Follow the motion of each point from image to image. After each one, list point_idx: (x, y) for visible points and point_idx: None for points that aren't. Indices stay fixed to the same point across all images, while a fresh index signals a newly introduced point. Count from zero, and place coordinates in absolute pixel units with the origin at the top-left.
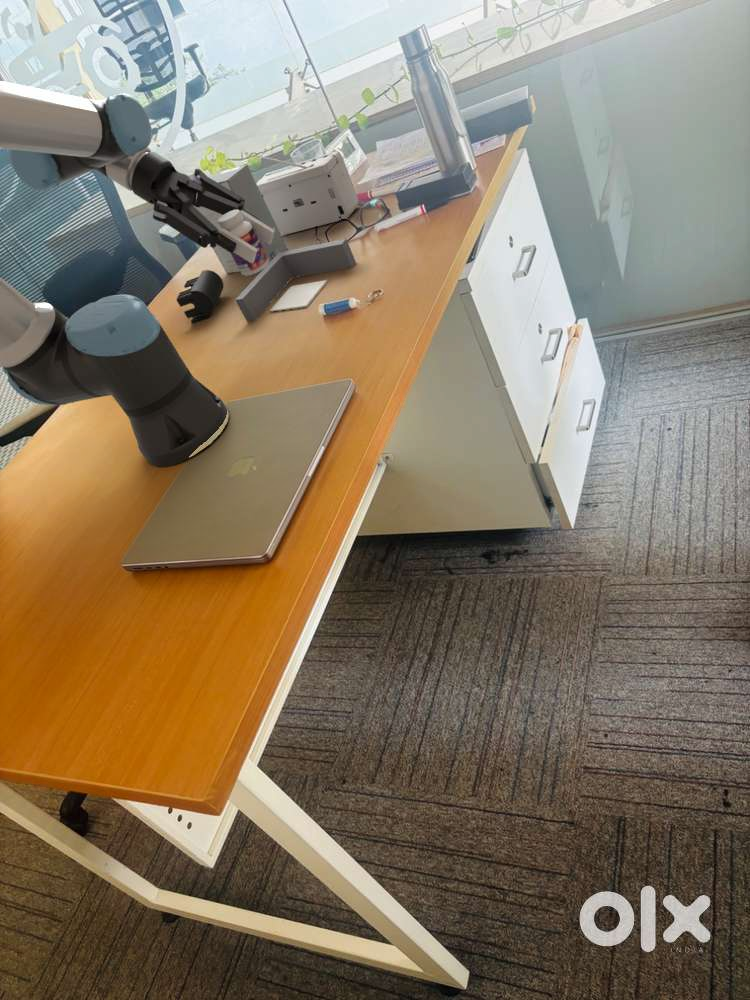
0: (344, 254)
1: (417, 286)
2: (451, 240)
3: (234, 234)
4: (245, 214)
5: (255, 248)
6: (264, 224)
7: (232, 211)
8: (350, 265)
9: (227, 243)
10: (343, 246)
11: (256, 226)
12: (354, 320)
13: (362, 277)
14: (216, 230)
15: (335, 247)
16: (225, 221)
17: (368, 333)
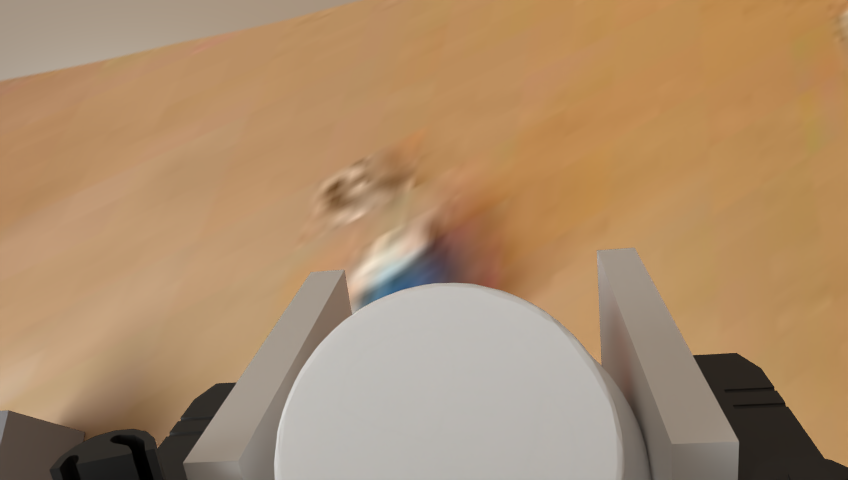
0: (43, 429)
1: (344, 66)
2: (91, 88)
3: (608, 381)
4: (245, 416)
5: (604, 254)
6: (290, 309)
7: (325, 452)
8: (78, 433)
9: (770, 391)
10: (15, 414)
11: None
12: (512, 186)
13: (199, 323)
14: (805, 466)
15: (5, 457)
16: (607, 393)
17: (598, 90)
